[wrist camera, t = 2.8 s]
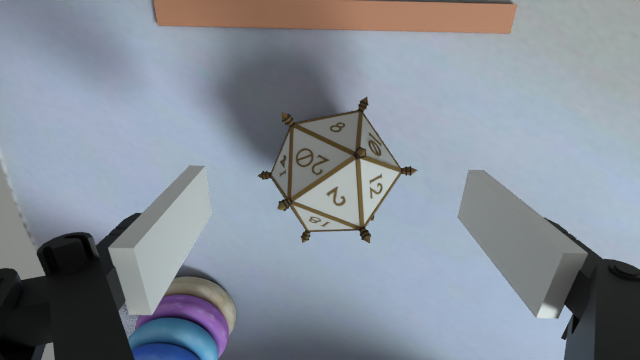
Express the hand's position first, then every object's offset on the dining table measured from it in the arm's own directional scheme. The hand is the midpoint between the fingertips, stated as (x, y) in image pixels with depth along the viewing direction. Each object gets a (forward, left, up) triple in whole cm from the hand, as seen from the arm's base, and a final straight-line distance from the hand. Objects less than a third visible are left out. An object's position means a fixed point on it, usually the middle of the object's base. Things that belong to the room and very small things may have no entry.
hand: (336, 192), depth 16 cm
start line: (+9, 0, -8) cm, 11 cm away
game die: (0, 0, -8) cm, 8 cm away
